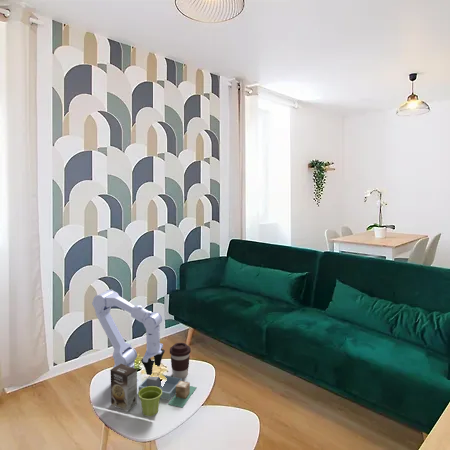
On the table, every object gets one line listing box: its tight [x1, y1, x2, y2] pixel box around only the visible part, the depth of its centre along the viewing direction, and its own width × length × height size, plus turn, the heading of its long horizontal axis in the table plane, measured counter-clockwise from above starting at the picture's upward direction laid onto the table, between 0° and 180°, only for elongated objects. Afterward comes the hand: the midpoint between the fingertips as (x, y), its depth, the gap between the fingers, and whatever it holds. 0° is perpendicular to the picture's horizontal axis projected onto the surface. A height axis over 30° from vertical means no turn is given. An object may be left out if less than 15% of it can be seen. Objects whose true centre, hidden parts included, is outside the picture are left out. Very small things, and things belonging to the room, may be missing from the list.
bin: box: [138, 374, 183, 401], centre depth 167 cm, size 15×12×4 cm
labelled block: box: [175, 380, 191, 399], centre depth 161 cm, size 4×4×5 cm
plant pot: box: [137, 386, 162, 417], centre depth 151 cm, size 9×9×9 cm
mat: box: [168, 385, 197, 408], centre depth 162 cm, size 6×15×1 cm, turn 162°
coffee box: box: [109, 364, 138, 412], centre depth 154 cm, size 9×6×16 cm
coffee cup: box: [169, 342, 192, 379], centre depth 178 cm, size 10×10×15 cm
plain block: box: [146, 375, 161, 387], centre depth 167 cm, size 4×4×5 cm
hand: (153, 370), depth 165 cm, fingers open, 7 cm apart
